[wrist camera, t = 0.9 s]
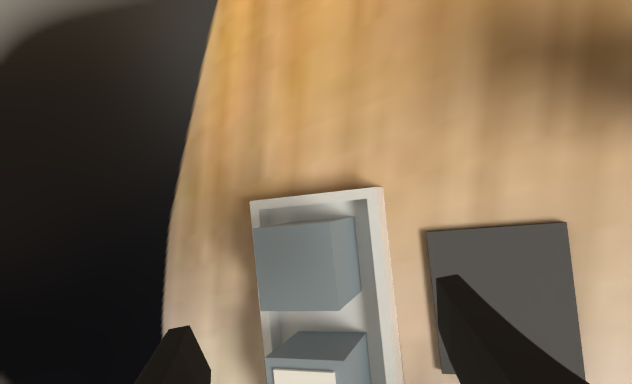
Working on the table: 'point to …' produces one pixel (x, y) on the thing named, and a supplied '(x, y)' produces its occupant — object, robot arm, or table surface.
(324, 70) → the table surface
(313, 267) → the plain block
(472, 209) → the table surface
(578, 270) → the table surface
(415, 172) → the table surface
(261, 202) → the parts tray
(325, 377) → the labelled block
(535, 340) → the dark grey square plate
